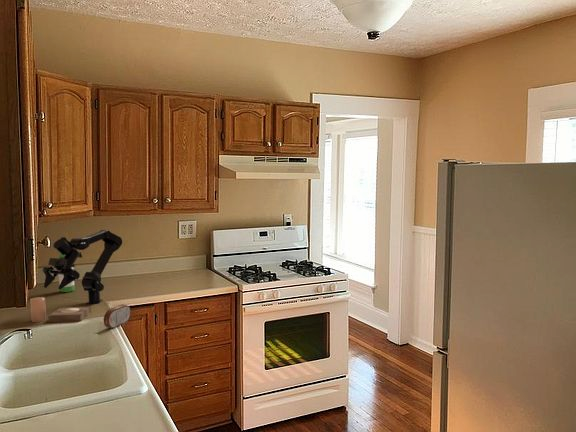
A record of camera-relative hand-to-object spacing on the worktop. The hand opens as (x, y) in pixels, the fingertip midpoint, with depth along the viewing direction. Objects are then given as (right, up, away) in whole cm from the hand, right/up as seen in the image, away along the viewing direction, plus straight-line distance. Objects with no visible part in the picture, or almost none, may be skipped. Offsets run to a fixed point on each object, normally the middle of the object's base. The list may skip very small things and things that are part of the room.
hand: (51, 288), depth 235 cm
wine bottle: (-15, -9, +51) cm, 54 cm away
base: (+10, -13, -2) cm, 16 cm away
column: (-3, -14, -6) cm, 15 cm away
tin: (+36, -14, -16) cm, 42 cm away
